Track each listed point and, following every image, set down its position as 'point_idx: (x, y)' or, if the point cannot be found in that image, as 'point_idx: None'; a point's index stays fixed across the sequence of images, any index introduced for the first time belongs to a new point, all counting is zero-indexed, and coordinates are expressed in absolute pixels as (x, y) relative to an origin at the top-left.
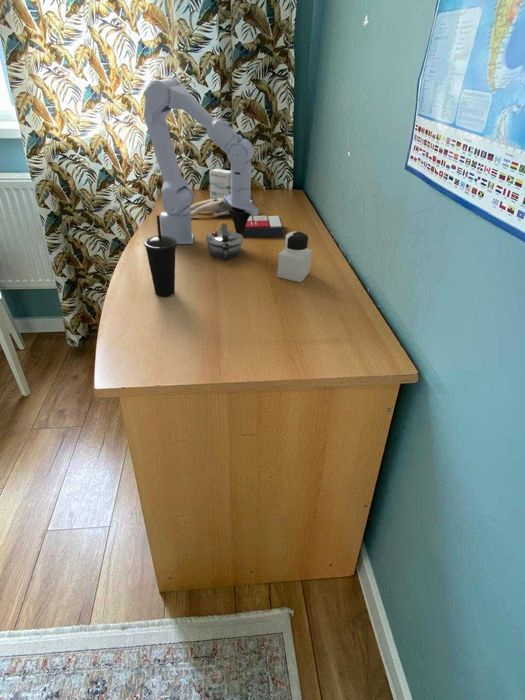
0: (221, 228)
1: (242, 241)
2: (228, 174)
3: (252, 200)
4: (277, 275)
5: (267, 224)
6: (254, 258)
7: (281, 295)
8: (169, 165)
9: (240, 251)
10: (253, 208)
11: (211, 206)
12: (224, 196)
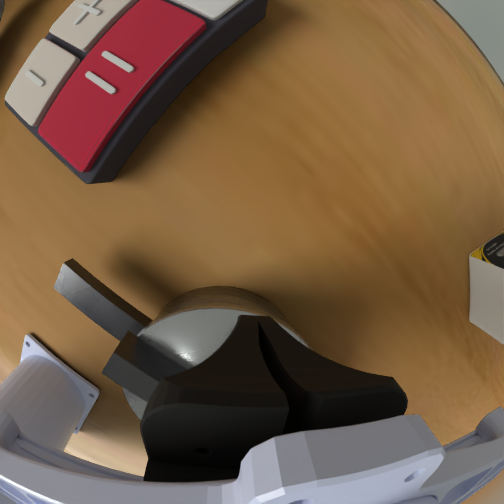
0: (63, 288)
1: (309, 346)
2: None
3: (436, 456)
4: (471, 322)
5: (181, 17)
6: (359, 298)
7: (488, 359)
8: None
9: (287, 323)
10: (496, 471)
11: None
12: (2, 492)
